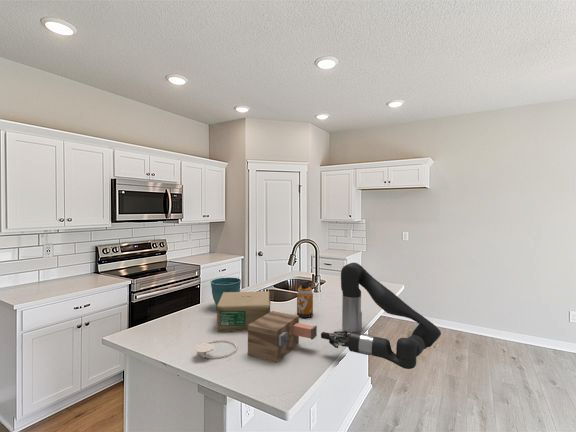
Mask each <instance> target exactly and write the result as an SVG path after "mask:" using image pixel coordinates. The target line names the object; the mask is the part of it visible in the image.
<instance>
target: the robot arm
mask: <svg viewBox="0 0 576 432" xmlns="http://www.w3.org/2000/svg"><path fill="white" fill-rule="evenodd" d="M340 271H341V272H340V288H341V291H342V297H341V298H342V299H341V301H342V303H341V304H342V309H341V310H342V311H341V312H342V317H341V319H342V321H341V324H342V325H341V327H342V330H339V331H333V332H327V331H326V332H325V331H322V332H321V334H320V338H321V339H324V340H327V341H328V343H329V344H330V345H331V346H332V347H334V348H335V349H339V346H340V347H345V348H346V347H347V348H348V350H349V352H353V353H356V354H362V355H364V356H372V357H377V358H382V359H384V360H387V361H389V362H391V363H393V364H394V365H397V366H399V367H401V368H402V369H406V370H412V369H414V368H415V367H416V365H417V358H418V356H420V355H421V354H422V352H423V351H424V350H426V349H427V348H430V347H432V346H433V345H434V343H436V341H437V340H438V339H439V338H440V336H441V335H442V332H441V330H440V329H439V328H438V327H437V326H436V325H435V324H434V323H433V322H432V321H430V320H429V319H427V318H426V317H424V316H423V315H422V314H420V313H419V312H417V310H415V309H413V308H412V307H411V306H409V305H408V304H407V303H406V302H405V301H403V300H402V299H401V298H400V297H399V296H398V295H396V294H395V293H394V292H393V291H392V290H391V289H388V288H387V287H386V286H385V285H384V284H382V283H381V282H380V281H378V280H377V279H375V278H374V277H373V276H372V275H371V274H370V273H369V272H368V271H367V270H366V269H365V268H364V267H363V266H362V265H360V264H359V263H358V262H350V263H347V264H346V265H344V266H342V269H341V270H340ZM360 286H361V287H362V288H364V290H366V292H367V293H368V294H369V296H370V298H371V299H372V300H373V301H374V303H375V304H376V305H377V306H378V307H379V308H380V309H382V310H383V311H384V312H385V313H386V314H389V315H392V316H397V317H403V318H407V319H410V320H412V321H414V322H415V323H418V324H417V326H416V327H415V329H414V330H413V331H412V333H411V335H409V336H408V337H400V338H398V339H397V341H396V349H395V350H396V351H395V352H396V353H395V352H394V351H393V349H392V346H391V342H390V340H389V339H387V338H383V337H379V336H374V335H371V334H367V333H361V332H362V331H363V328H362V327H363V311H362V290H361V289H360Z"/></svg>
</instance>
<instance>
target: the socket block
mask: <svg viewBox="0 0 576 432" xmlns="http://www.w3.org/2000/svg"><path fill="white" fill-rule="evenodd" d="M294 323H300V316H298V315H297V314H291V313H285V312H280V311H275V310H272V311H271V310H270V312H269V313H268V314H266V315H264V316H262V317H261V318H259V319H257V320H256V321H254V322H252V323H250V324H249V325H248V331H247V355H248V356H252V357H255V358H260V359H262V360H263V359H264V360H267V361H269V362H275V363H278V362H279V361H280V360H281V359H282V358H283V357H284V356H286V355H287V354H288V353H289V352H290V351H292V349H294V348H295V347H296V346H297V345H298V344H299V343H300V336H296V335H292V325H293V324H294ZM282 332H285V333H286V332H288V343H287V344H286V345H285V346H284V347H281V346H279V334H281V333H282Z"/></svg>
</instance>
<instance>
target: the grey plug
mask: <svg viewBox="0 0 576 432" xmlns="http://www.w3.org/2000/svg"><path fill="white" fill-rule="evenodd" d="M287 343H288V332H286V333H285V332H282V333H281V334H279V346H281V347H284V346H285V345H286V344H287Z"/></svg>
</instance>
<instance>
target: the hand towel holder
mask: <svg viewBox="0 0 576 432" xmlns="http://www.w3.org/2000/svg"><path fill="white" fill-rule="evenodd" d="M213 343H214V344H215V343H228V344H231V345H233V347H234V349H233V351H231V352H229V353H226V354H223V355H214V356H213V355H207V353H209V352H211V351H214V348H215V345H214V344H213ZM193 348H194V349H193V350H195V352H197V354H198V355H199V356H200V355H201V356H200V357H201V358H202V357H203V358H202V359H208V358H212V360H217V358H218V359H224V357H225V358H227V357H230V356H232V355H233V354H235V353H236V352H237V351H238V346H237V344H236V343H235V342H234V341H232V340H229V339H228V340H227V339H214V340H209V341H207V342H204V343H200V344H197V345H196V346H194V347H193ZM204 357H206V358H204Z"/></svg>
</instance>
